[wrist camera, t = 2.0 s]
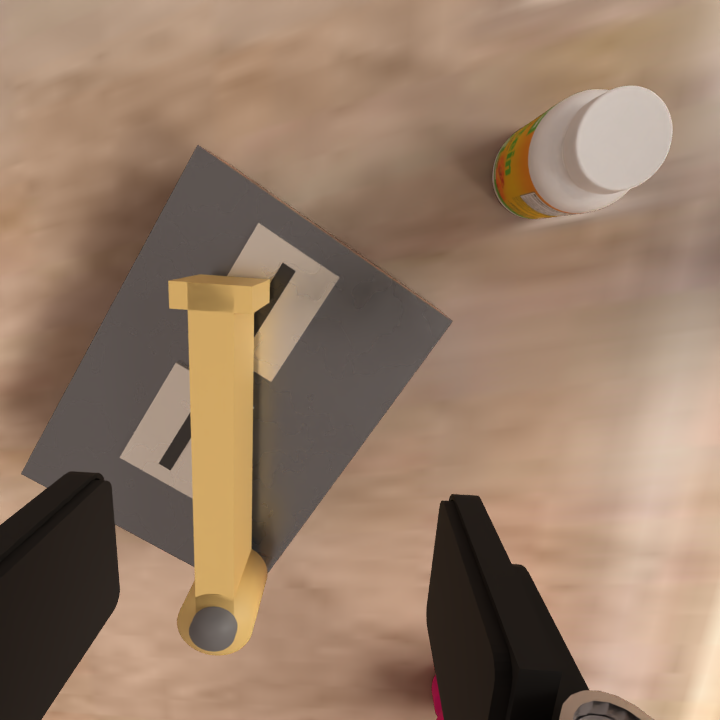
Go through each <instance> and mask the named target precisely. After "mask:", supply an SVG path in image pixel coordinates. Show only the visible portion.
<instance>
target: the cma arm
mask: <svg viewBox="0 0 720 720" xmlns="http://www.w3.org/2000/svg"><path fill="white" fill-rule="evenodd" d="M168 287H169V309H184V310H188V339H189V377H190V414H191V452H192V490H193V527H194V565H195V581H194V583H193V585H192V587H191V589H190V591H189V593H188V595H187V597H186V599H185V601H184V603H183V605H182V607H181V609H180V612H179V614H178V618H177V626H178V630H179V633H180V635H181V637H182V638H183V640H184V641H185V642H186V643H187V644H188V645H189V646H191V647H192V648H194V649H195V650H197V651H199V652H202V653H205V654H209V655H226V654H231V653H233V652H236V651H238V650H239V649H241V648H242V647H243V646H245V644H246V643H247V642H248V641H249V639H250V637H251V635H252V631H253V627H254V624H255V620H256V616H257V613H258V609H259V605H260V602H261V598H262V594H263V591H264V587H265V583H266V580H267V567H266V564H265V562H264V560H263V559H262V557H261V556H260V555H259V554H258V553H257V552H256V551H254V550H253V549H251V546H252V453H253V360H254V312H256V311H257V310H259V309H260V308H262V307H263V306H265V305H266V304H268V303H269V299H270V279H259V278H245V277H231V276H216V275H202V274H199V275H194V276H189V277H184V278H179V279H174V280H169V281H168Z"/></svg>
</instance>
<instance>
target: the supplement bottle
mask: <svg viewBox="0 0 720 720" xmlns="http://www.w3.org/2000/svg"><path fill="white" fill-rule="evenodd" d="M672 132H673V129H672V119H671V116H670V113H669V110H668V108H667V106H666V105H665V103H664V102H663V100H662V99H661V98H660V97H659V96H658V95H657V94H655V93H654V92H653V91H651V90H649V89H647V88H644V87H640V86H621V87H617V88H614V89H611V90H605V89H590V90H585V91H581V92H578V93H576V94H573V95H571V96H569V97H567V98H566V99H564V100H562V101H561V102H559V103H558V104H556V105H555V106H553V107H552V108H550V109H549V110H548V111H546V112H545V113H543V114H542V115H541V116H539V117H538V118H536V119H535V120H533V121H532V122H530V123H529V124H527V125H526V126H524V127H523V128H521V129H520V130H518V131H517V132H515V133H514V134H513V135H512V136H511V137H510V138H509V139H508V140H507V141H506V142H505V143H504V144H503V146H502V147H501V149H500V150H499V152H498V154H497V156H496V159H495V162H494V166H493V173H492V181H493V187H494V191H495V194H496V196H497V198H498V200H499V201H500V203H501V204H502V205H503V206H504V207H505V208H506V209H507V210H508V211H510V212H511V213H513V214H514V215H516V216H519V217H522V218H527V219H541V218H550V217H557V216H565V215H573V214H581V213H588V212H592V211H596V210H600V209H602V208H605V207H607V206H609V205H611V204H613V203H614V202H616V201H617V200H619V199H620V198H621V197H622V196H623V195H625V194H626V193H627V192H628V191H629V189H631V188H634V187H636V186H638V185H640V184H642V183H644V182H645V181H646V180H648V179H649V178H650V177H651V176H652V175H653V174H654V173H655V172H656V171H657V170H658V169H659V168H660V166H661V165H662V164H663V162H664V160H665V158H666V156H667V154H668V152H669V149H670V146H671V141H672Z"/></svg>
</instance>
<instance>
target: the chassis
mask: <svg viewBox="0 0 720 720" xmlns="http://www.w3.org/2000/svg"><path fill="white" fill-rule="evenodd" d="M199 274H202V275H216V276H231V277H245V278H259V279H270V299H269V303H268V304H266V305H265V306H263V307H262V308H260V309H259V310H257V311H256V312H254V360H253V453H252V546H251V549H253V550H254V551H256V552H257V553H258V554H259V555H260V556H261V557H262V559H263V560H264V562H265V564H266V567H267V574H268V572H269V571H270V569H271V568H272V567H273V565H274V564H275V563H276V561H277V560H278V559H279V557H280V556H281V555H282V553H283V552H284V550H285V549H286V548H287V546H288V545H289V544H290V542H291V541H292V540H293V538H294V537H295V535H296V534H297V533H298V531H299V530H300V529H301V527H302V526H303V525H304V523H305V522H306V520H307V519H308V518H309V516H310V515H311V514H312V512H313V511H314V510H315V508H316V507H317V505H318V504H319V503H320V501H321V500H322V499H323V497H324V496H325V495H326V493H327V492H328V490H329V489H330V488H331V486H332V485H333V484H334V482H335V481H336V480H337V478H338V477H339V475H340V474H341V473H342V471H343V470H344V469H345V467H346V466H347V465H348V463H349V462H350V460H351V459H352V458H353V456H354V455H355V454H356V452H357V451H358V450H359V448H360V447H361V446H362V444H363V443H364V441H365V440H366V439H367V437H368V436H369V435H370V433H371V432H372V431H373V429H374V428H375V426H376V425H377V424H378V422H379V421H380V420H381V418H382V417H383V416H384V414H385V413H386V411H387V410H388V409H389V407H390V406H391V405H392V403H393V402H394V401H395V399H396V398H397V396H398V395H399V394H400V392H401V391H402V390H403V388H404V387H405V386H406V384H407V383H408V381H409V380H410V379H411V377H412V376H413V375H414V373H415V372H416V371H417V369H418V368H419V366H420V365H421V364H422V362H423V361H424V360H425V358H426V357H427V356H428V354H429V353H430V352H431V350H432V349H433V347H434V346H435V345H436V343H437V342H438V341H439V339H440V338H441V337H442V335H443V334H444V332H445V331H446V330H447V328H448V327H449V326H450V324H451V323H452V322H453V321H452V320H451V319H449V318H448V317H447V316H446V315H445V314H444V313H442V312H441V311H440V310H439V309H438V308H436V307H435V306H433V305H432V304H430V303H429V302H427V301H426V300H425V299H423V298H422V297H420V296H419V295H417V294H416V293H414V292H413V291H412V290H410V289H409V288H407V287H406V286H404V285H403V284H401V283H400V282H399V281H397V280H396V279H394V278H393V277H391V276H390V275H389V274H387V273H386V272H384V271H383V270H381V269H380V268H378V267H377V266H376V265H374V264H373V263H371V262H370V261H368V260H367V259H365V258H364V257H363V256H361V255H360V254H358V253H357V252H355V251H354V250H352V249H351V248H350V247H348V246H347V245H345V244H344V243H342V242H341V241H339V240H338V239H337V238H335V237H334V236H332V235H331V234H329V233H328V232H326V231H325V230H324V229H322V228H321V227H319V226H318V225H316V224H315V223H313V222H312V221H311V220H309V219H308V218H306V217H305V216H303V215H302V214H300V213H299V212H298V211H296V210H295V209H293V208H292V207H290V206H289V205H287V204H286V203H285V202H283V201H282V200H280V199H279V198H277V197H276V196H274V195H273V194H272V193H270V192H269V191H267V190H266V189H264V188H263V187H261V186H260V185H259V184H257V183H256V182H254V181H253V180H251V179H250V178H248V177H247V176H246V175H244V174H243V173H241V172H240V171H238V170H237V169H235V168H234V167H233V166H231V165H230V164H228V163H227V162H225V161H224V160H222V159H220V158H219V157H217V156H215V155H214V154H212V153H210V152H209V151H207V150H205V149H204V148H202V147H201V146H199V145H197V147H196V149H195V151H194V153H193V155H192V157H191V158H190V160H189V162H188V164H187V166H186V168H185V170H184V171H183V173H182V175H181V177H180V179H179V181H178V183H177V184H176V186H175V188H174V190H173V192H172V194H171V196H170V197H169V199H168V201H167V203H166V205H165V207H164V209H163V211H162V212H161V214H160V216H159V218H158V220H157V222H156V224H155V225H154V227H153V229H152V231H151V233H150V235H149V237H148V238H147V240H146V242H145V244H144V246H143V248H142V250H141V251H140V253H139V255H138V257H137V259H136V261H135V263H134V264H133V266H132V268H131V270H130V272H129V274H128V276H127V277H126V279H125V281H124V283H123V285H122V287H121V289H120V291H119V292H118V294H117V296H116V298H115V300H114V302H113V304H112V305H111V307H110V309H109V311H108V313H107V315H106V317H105V318H104V320H103V322H102V324H101V326H100V328H99V330H98V331H97V333H96V335H95V337H94V339H93V341H92V343H91V344H90V346H89V348H88V350H87V352H86V354H85V356H84V358H83V359H82V361H81V363H80V365H79V367H78V369H77V371H76V372H75V374H74V376H73V378H72V380H71V382H70V384H69V385H68V387H67V389H66V391H65V393H64V395H63V397H62V398H61V400H60V402H59V404H58V406H57V408H56V410H55V411H54V413H53V415H52V417H51V419H50V421H49V423H48V425H47V426H46V428H45V430H44V432H43V434H42V436H41V438H40V439H39V441H38V443H37V445H36V447H35V449H34V451H33V452H32V454H31V456H30V458H29V460H28V462H27V464H26V465H25V467H24V469H23V471H22V473H21V474H22V475H24V476H26V477H28V478H30V479H32V480H34V481H35V482H37V483H39V484H41V485H43V486H45V487H47V488H48V487H49V486H50V485H52V484H53V483H54V482H56V481H57V480H58V479H59V478H61V477H62V476H63V475H64V474H66V473H68V472H70V471H76V472H92V473H100V474H102V475H103V477H104V480H105V481H109V482H110V483H111V486H112V495H113V508H114V521H115V525H117V526H119V527H121V528H123V529H125V530H126V531H128V532H130V533H132V534H134V535H136V536H138V537H139V538H141V539H143V540H145V541H147V542H149V543H151V544H152V545H154V546H156V547H158V548H160V549H162V550H164V551H165V552H167V553H169V554H171V555H173V556H175V557H177V558H178V559H180V560H182V561H184V562H186V563H188V564H190V565H192V566H193V567H195V565H194V527H193V490H192V452H191V414H190V377H189V339H188V310H184V309H169V287H168V281H169V280H174V279H179V278H184V277H189V276H194V275H199Z"/></svg>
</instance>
